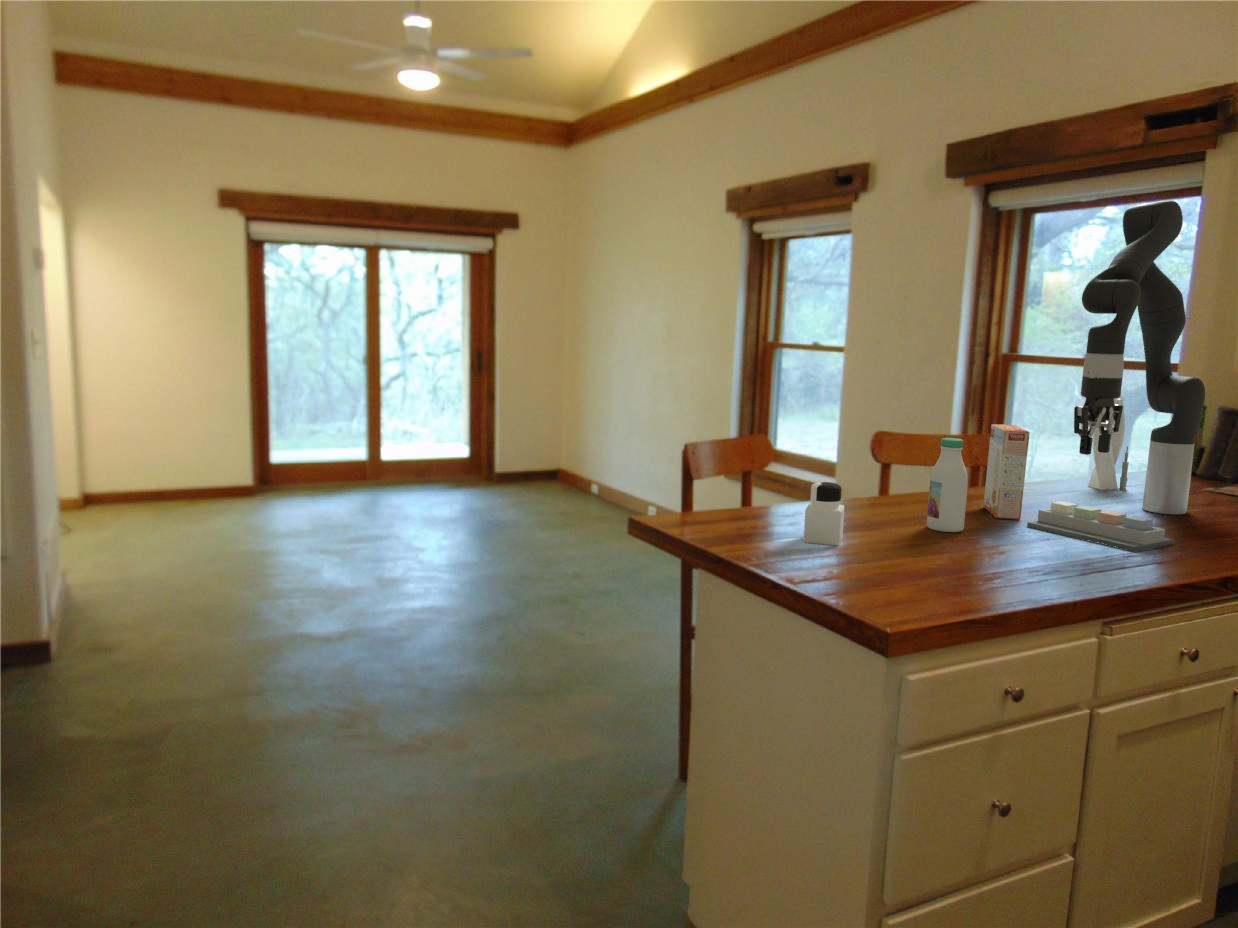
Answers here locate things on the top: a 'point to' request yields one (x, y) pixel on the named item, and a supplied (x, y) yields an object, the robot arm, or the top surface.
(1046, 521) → the keypad
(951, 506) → the milk bottle
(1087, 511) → the key sage
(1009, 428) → the cracker box
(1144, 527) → the key slate
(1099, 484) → the skyscraper
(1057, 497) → the top surface
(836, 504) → the medicine bottle
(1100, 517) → the block
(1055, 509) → the key ivory
